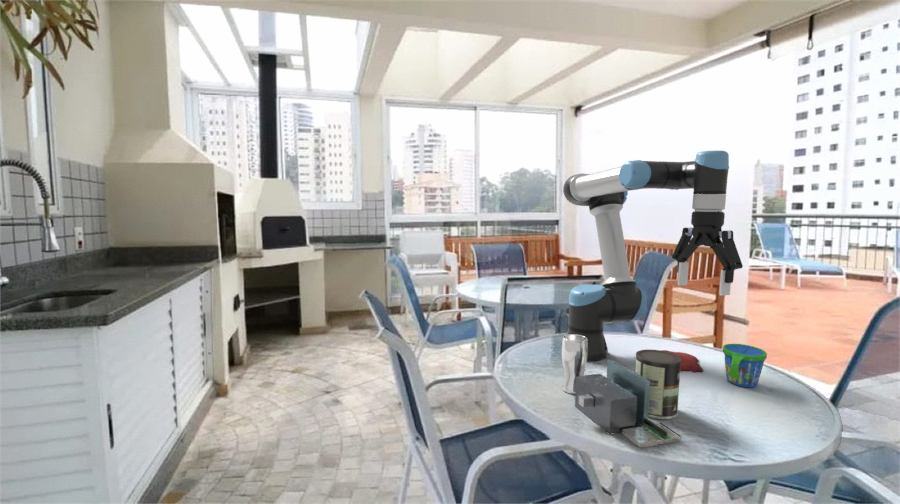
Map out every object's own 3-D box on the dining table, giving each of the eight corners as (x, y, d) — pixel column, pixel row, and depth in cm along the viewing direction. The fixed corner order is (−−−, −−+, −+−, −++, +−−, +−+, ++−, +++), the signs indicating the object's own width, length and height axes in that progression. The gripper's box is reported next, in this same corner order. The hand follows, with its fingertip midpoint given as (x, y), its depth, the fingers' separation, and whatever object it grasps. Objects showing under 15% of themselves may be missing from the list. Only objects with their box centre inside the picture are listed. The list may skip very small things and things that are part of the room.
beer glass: (555, 386, 124) (556, 335, 122) (574, 383, 126) (576, 332, 125) (571, 397, 117) (573, 342, 116) (591, 392, 120) (593, 339, 118)
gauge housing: (575, 406, 112) (576, 376, 111) (620, 400, 116) (621, 371, 115) (628, 450, 92) (630, 414, 91) (680, 440, 96) (683, 406, 95)
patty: (704, 376, 133) (705, 369, 133) (654, 369, 139) (655, 363, 138) (696, 357, 149) (697, 351, 149) (652, 351, 155) (652, 346, 154)
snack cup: (750, 396, 119) (753, 360, 117) (709, 383, 127) (711, 349, 126) (773, 383, 127) (777, 349, 126) (734, 371, 136) (736, 339, 135)
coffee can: (670, 402, 115) (674, 350, 113) (683, 421, 105) (687, 365, 103) (629, 398, 117) (632, 347, 115) (637, 417, 107) (640, 361, 105)
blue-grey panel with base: (564, 406, 111) (566, 364, 110) (609, 399, 115) (611, 359, 113) (615, 449, 92) (618, 399, 91) (667, 440, 96) (670, 392, 94)
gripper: (764, 212, 105) (756, 299, 107) (682, 209, 128) (677, 280, 131) (740, 212, 103) (732, 300, 105) (661, 209, 126) (656, 282, 129)
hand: (702, 289), depth 118 cm, fingers open, 13 cm apart
